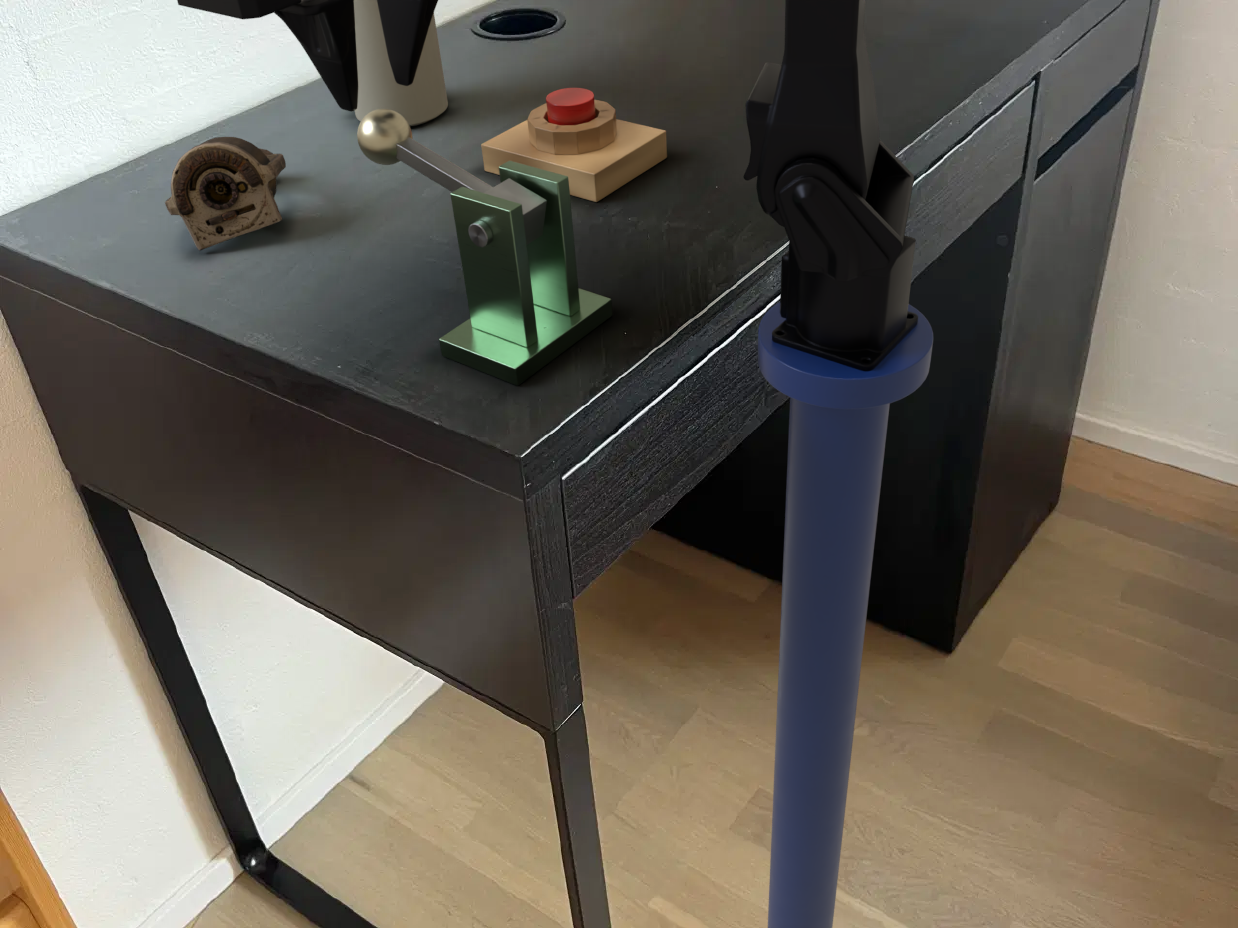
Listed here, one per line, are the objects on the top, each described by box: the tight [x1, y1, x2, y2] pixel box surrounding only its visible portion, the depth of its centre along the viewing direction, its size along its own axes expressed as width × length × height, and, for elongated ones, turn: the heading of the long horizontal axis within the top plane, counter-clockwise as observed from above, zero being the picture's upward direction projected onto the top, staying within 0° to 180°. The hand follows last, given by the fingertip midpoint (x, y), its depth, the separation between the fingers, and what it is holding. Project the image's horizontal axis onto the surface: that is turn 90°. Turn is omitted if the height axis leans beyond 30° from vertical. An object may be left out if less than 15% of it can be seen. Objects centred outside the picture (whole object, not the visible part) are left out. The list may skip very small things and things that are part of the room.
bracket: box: [438, 161, 613, 387], centre depth 66 cm, size 6×9×10 cm, turn 143°
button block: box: [480, 98, 668, 203], centre depth 87 cm, size 11×9×4 cm
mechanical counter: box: [164, 136, 287, 251], centre depth 82 cm, size 7×13×10 cm
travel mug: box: [354, 0, 449, 127], centre depth 93 cm, size 8×8×18 cm
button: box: [545, 87, 596, 125], centre depth 85 cm, size 4×4×2 cm
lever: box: [356, 109, 547, 245], centre depth 66 cm, size 13×3×3 cm, turn 53°
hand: (377, 96), depth 66 cm, fingers open, 4 cm apart
